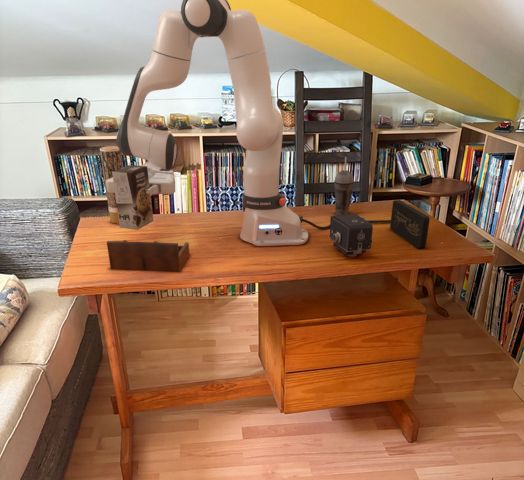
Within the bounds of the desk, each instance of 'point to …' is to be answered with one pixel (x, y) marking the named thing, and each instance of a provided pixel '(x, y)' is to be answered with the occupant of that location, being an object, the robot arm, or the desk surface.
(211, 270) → the desk surface
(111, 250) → the dark brown wooden box
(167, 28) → the robot arm
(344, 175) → the beverage cup
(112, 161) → the wooden log
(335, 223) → the camera
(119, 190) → the coffee box
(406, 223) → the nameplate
